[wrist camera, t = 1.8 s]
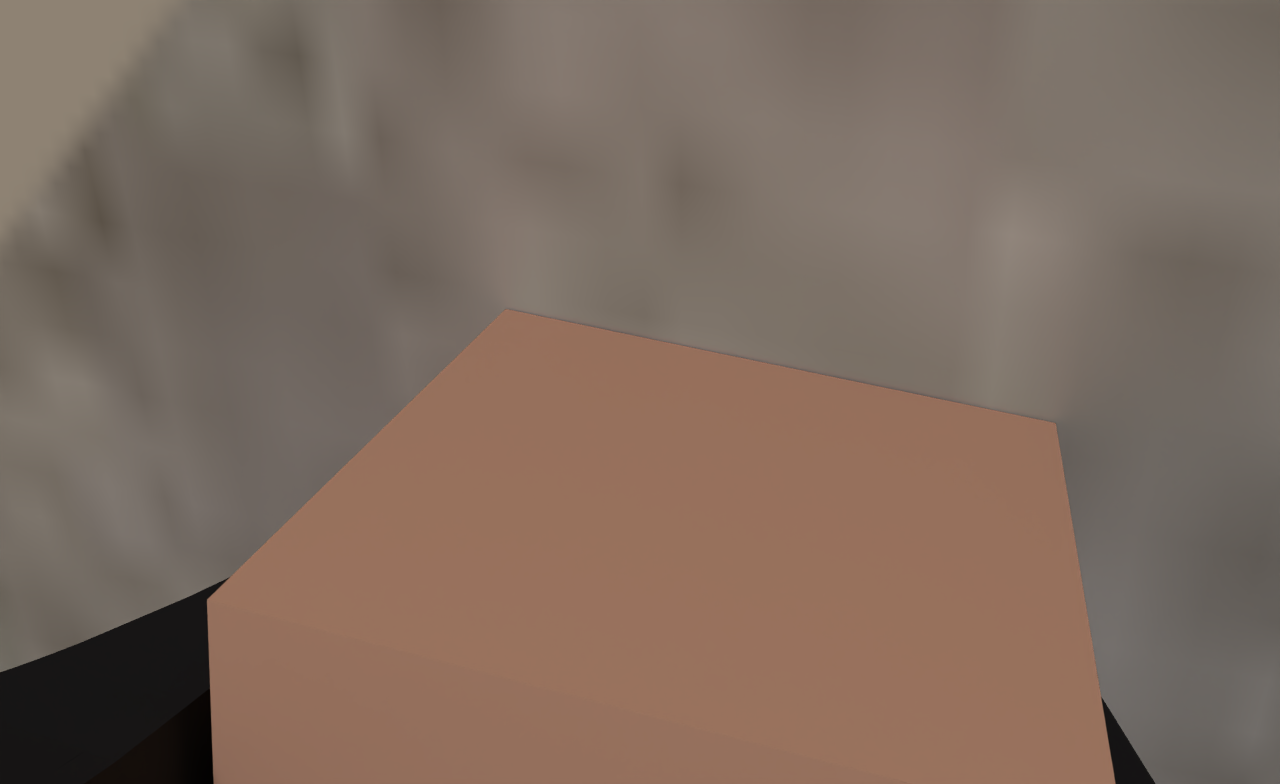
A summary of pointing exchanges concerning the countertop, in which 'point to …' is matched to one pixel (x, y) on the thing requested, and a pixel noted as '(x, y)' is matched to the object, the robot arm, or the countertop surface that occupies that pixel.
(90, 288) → the countertop surface
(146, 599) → the countertop surface
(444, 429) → the terracotta cube
